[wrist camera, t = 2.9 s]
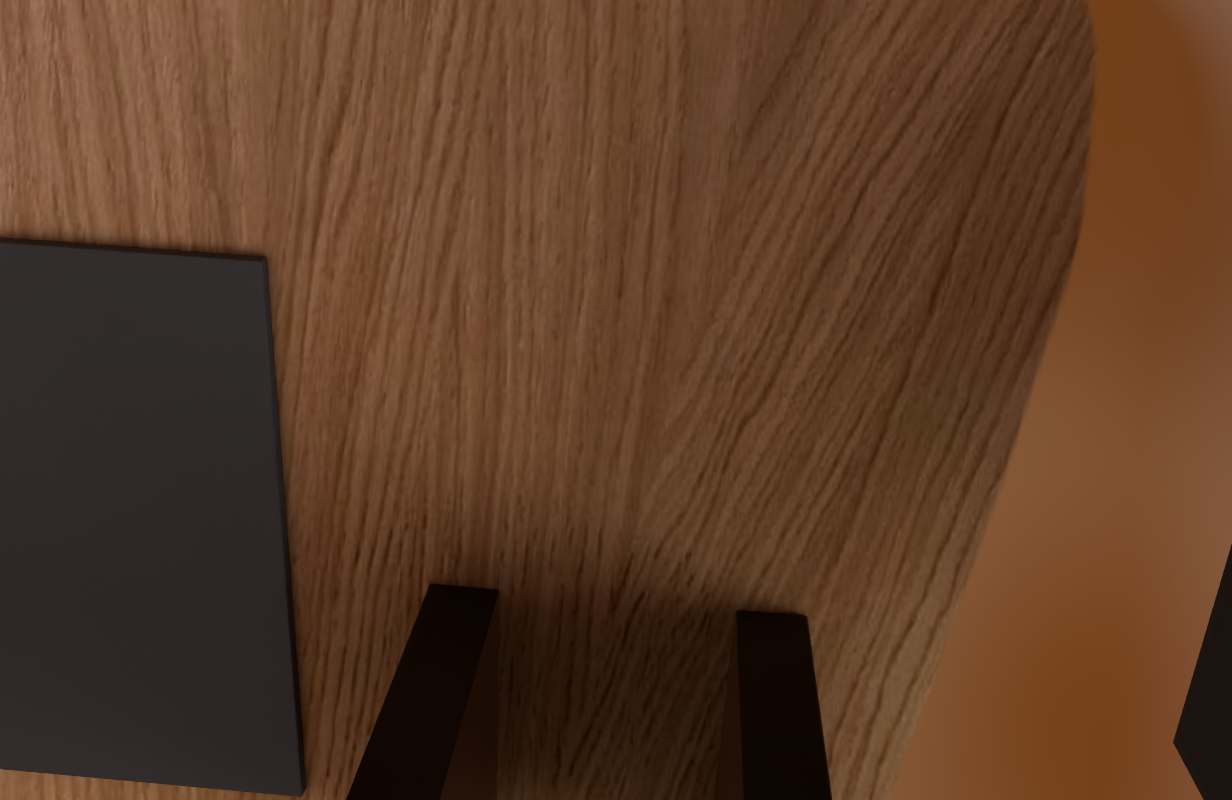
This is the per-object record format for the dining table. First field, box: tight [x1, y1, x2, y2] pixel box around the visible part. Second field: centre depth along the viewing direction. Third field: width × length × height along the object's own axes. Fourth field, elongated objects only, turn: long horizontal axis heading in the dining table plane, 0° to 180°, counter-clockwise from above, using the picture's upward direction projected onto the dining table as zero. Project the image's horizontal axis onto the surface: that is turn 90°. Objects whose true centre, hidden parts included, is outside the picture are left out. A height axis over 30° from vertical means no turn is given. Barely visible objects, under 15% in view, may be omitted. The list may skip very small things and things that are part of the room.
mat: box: [0, 238, 306, 797], centre depth 50 cm, size 18×26×1 cm
